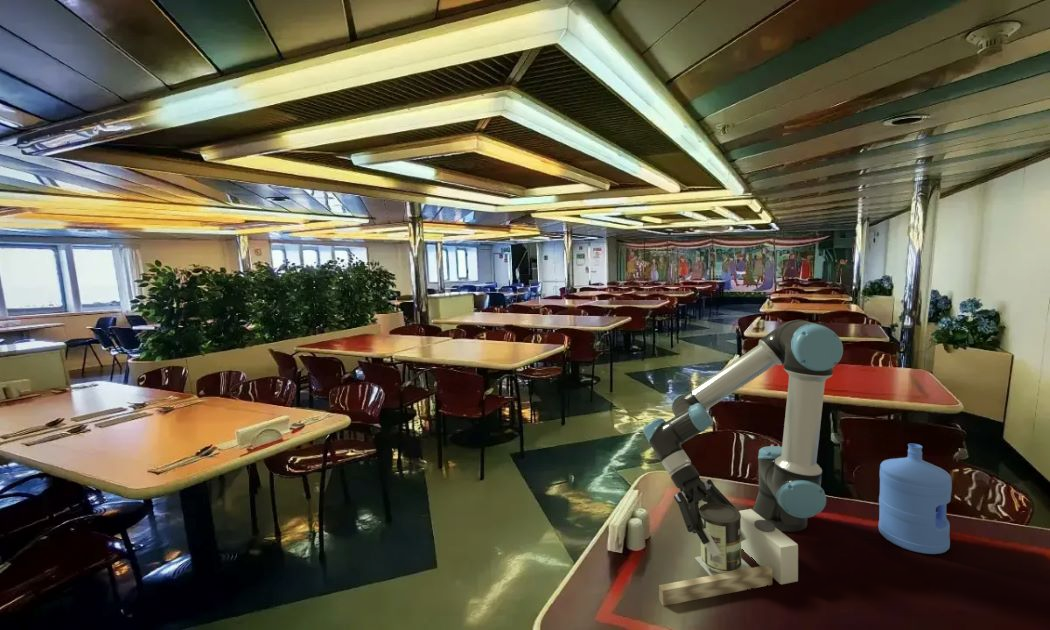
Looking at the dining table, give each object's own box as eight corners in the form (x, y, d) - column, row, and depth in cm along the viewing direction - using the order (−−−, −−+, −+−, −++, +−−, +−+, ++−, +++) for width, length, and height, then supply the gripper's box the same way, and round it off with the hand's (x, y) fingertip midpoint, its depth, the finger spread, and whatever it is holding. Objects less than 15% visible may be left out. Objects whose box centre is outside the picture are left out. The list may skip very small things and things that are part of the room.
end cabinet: (751, 541, 134) (750, 506, 133) (797, 581, 116) (797, 542, 115) (689, 551, 130) (688, 517, 129) (727, 595, 113) (726, 555, 112)
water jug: (889, 549, 126) (891, 453, 124) (871, 520, 141) (872, 433, 138) (961, 560, 120) (965, 459, 118) (934, 528, 135) (937, 437, 132)
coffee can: (736, 550, 126) (735, 502, 125) (746, 575, 116) (745, 523, 115) (697, 548, 128) (696, 501, 127) (704, 572, 118) (702, 521, 117)
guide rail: (766, 579, 117) (766, 565, 117) (772, 584, 115) (772, 569, 115) (659, 600, 112) (659, 585, 112) (663, 605, 110) (662, 590, 110)
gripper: (699, 465, 139) (747, 537, 127) (646, 486, 128) (693, 568, 116) (714, 454, 134) (765, 528, 122) (659, 475, 123) (710, 559, 111)
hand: (730, 547), depth 119 cm, fingers closed on coffee can, 10 cm apart
